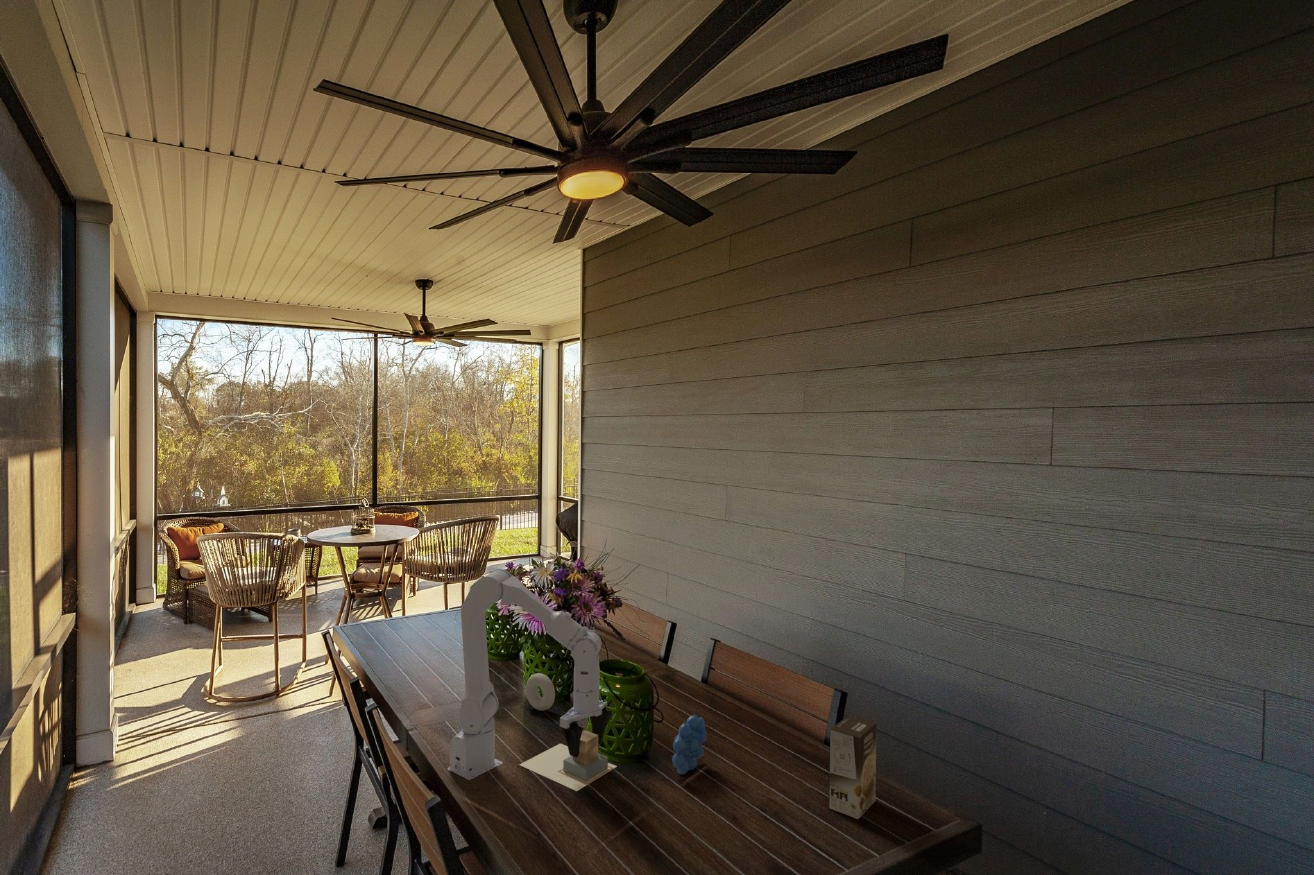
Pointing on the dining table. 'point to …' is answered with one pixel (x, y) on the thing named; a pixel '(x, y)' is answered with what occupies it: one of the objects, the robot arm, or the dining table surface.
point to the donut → (533, 693)
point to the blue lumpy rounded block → (689, 744)
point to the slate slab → (585, 767)
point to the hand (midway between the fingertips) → (585, 749)
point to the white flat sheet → (558, 767)
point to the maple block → (587, 748)
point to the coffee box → (852, 766)
